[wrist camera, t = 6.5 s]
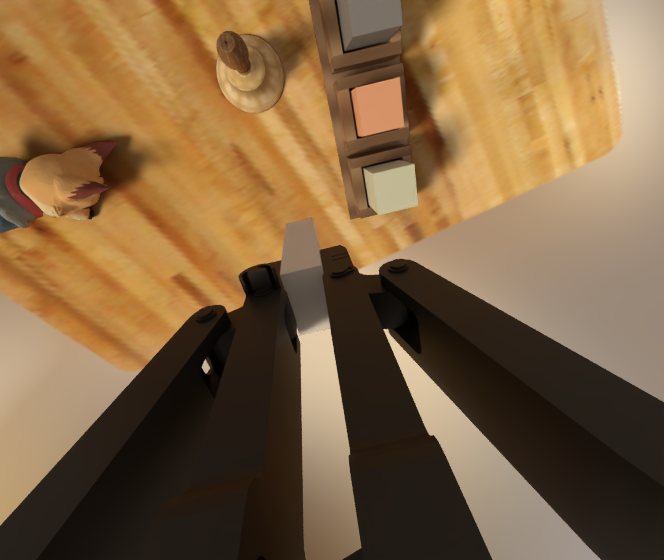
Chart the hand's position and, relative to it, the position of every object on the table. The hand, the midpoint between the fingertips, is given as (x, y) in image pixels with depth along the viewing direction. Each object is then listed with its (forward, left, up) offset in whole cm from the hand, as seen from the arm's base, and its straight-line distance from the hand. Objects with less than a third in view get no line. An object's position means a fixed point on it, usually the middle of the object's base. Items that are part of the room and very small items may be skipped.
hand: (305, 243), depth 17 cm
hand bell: (-13, -3, -31) cm, 33 cm away
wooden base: (-6, +11, -30) cm, 33 cm away
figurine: (-6, -32, -31) cm, 45 cm away
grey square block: (-15, +11, -26) cm, 32 cm away
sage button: (+3, +11, -26) cm, 29 cm away
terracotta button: (-6, +11, -29) cm, 31 cm away
